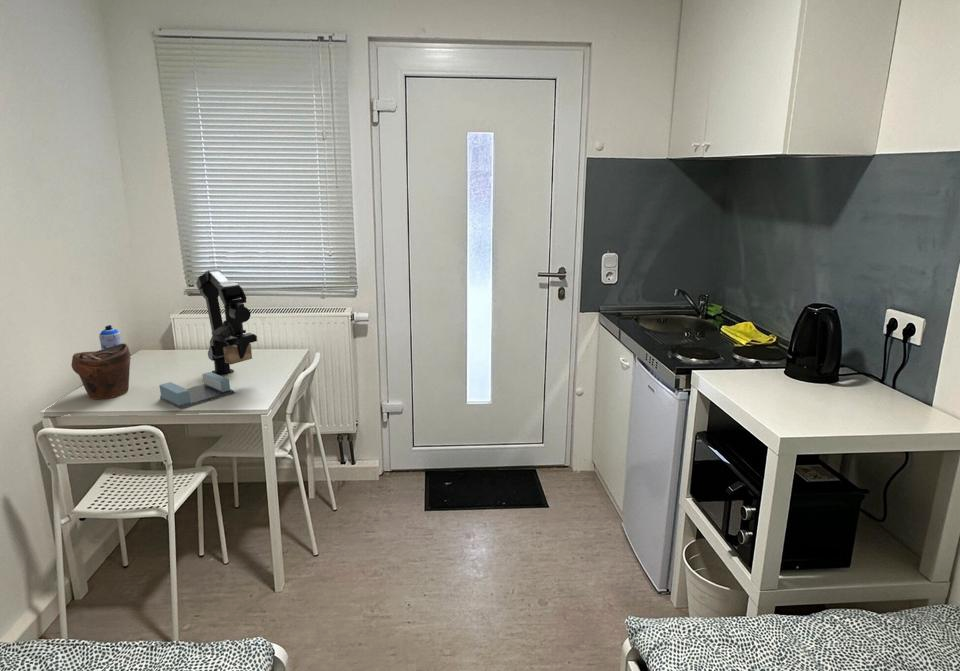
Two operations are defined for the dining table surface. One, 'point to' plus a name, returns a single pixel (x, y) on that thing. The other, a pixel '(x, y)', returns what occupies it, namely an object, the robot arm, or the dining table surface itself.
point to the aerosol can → (109, 337)
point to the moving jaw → (216, 381)
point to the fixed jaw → (175, 393)
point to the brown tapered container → (104, 371)
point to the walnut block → (236, 354)
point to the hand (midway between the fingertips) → (238, 357)
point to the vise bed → (201, 395)
